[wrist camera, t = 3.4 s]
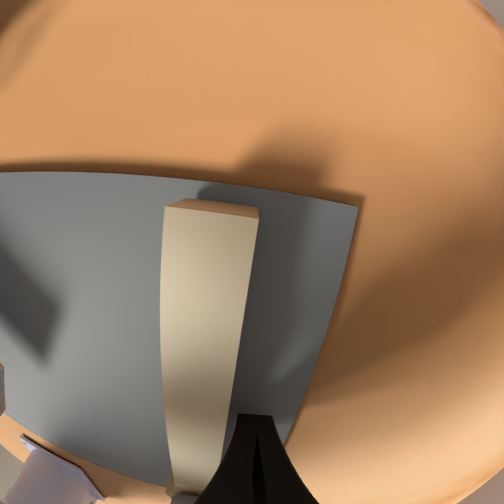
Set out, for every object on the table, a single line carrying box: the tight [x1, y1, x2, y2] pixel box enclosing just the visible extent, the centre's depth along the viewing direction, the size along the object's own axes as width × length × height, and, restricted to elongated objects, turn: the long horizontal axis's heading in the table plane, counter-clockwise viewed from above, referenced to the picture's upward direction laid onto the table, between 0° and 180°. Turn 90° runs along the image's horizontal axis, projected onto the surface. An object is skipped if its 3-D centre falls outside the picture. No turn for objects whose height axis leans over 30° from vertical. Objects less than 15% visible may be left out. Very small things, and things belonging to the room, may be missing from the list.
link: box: [160, 198, 259, 498], centre depth 9 cm, size 16×3×2 cm, turn 171°
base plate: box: [0, 171, 358, 504], centre depth 9 cm, size 20×23×4 cm
